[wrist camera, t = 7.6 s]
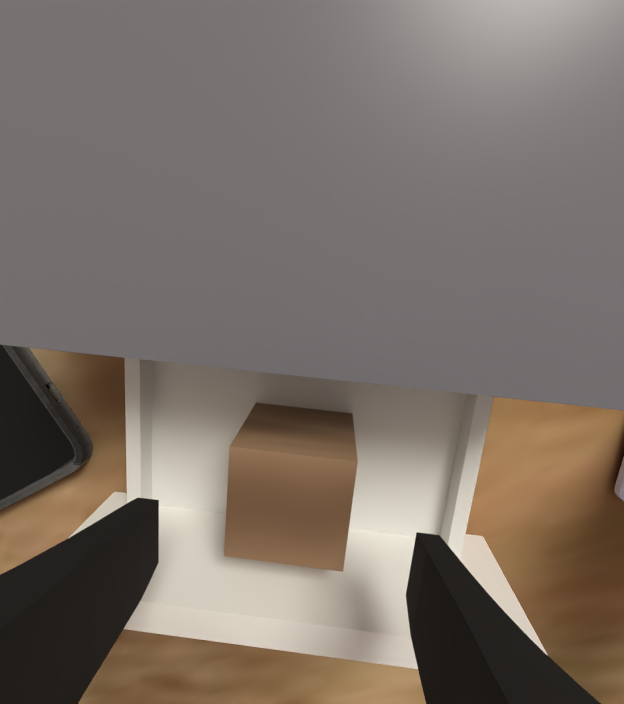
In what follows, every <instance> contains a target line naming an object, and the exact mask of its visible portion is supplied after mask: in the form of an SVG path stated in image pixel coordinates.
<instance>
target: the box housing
mask: <svg viewBox="0 0 624 704" xmlns="http://www.w3.org/2000/svg"><path fill="white" fill-rule="evenodd" d="M0 345H9V346H18V347H28V348H37V349H47V350H56V351H66V352H75V353H85V354H94V355H104V356H113V357H123V358H132V359H142V360H151V361H161V362H170V363H180V364H189V365H199V366H208V367H217V368H227V369H236V370H246V371H255V372H265V373H274V374H284V375H293V376H303V377H312V378H322V379H331V380H341V381H350V382H360V383H369V384H379V385H388V386H398V387H407V388H417V389H426V390H436V391H445V392H455V393H464V394H474V395H483V396H493V397H502V398H512V399H521V400H531V401H540V402H550V403H559V404H569V405H578V406H587V407H597V408H606V409H616V410H624V0H0Z"/></svg>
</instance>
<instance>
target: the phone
mask: <svg viewBox="0 0 624 704" xmlns="http://www.w3.org/2000/svg"><path fill="white" fill-rule="evenodd" d="M46 385H49V387H50V388H51V389H52V391H53V392H54V394H55V395H56V397H57V398H58V400H59V401H60V402H59V403H57V401H56V400H55V399H54V397H53V396H52V394H51V393H50V391H49V390H48V388H47V387H46ZM77 425H78V428H77V427H76V426H77ZM92 451H93V445H92V441H91V439H90V437H89V435H88V433H87V432H86V430H85V429H84V427H83V426H82V424H81V423H80V422H79V420H78V419H77V417H76V416H75V414H74V413H73V411H72V410H71V408H70V407H69V406H68V404H67V403H66V401H65V400H64V398H63V397H62V395H61V394H60V392H59V391H58V390H57V388H56V387H55V385H54V384H53V382H52V381H51V379H50V378H49V376H48V375H47V374H46V372H45V371H44V369H43V368H42V366H41V365H40V363H39V362H38V360H37V359H36V358H35V356H34V355H33V353H32V352H31V350H30V349H29V348H28V347H18V346H9V345H0V510H2V509H4V508H6V507H8V506H10V505H12V504H14V503H15V502H17V501H19V500H21V499H23V498H25V497H27V496H29V495H31V494H33V493H35V492H37V491H38V490H40V489H42V488H44V487H46V486H48V485H50V484H52V483H54V482H56V481H58V480H60V479H61V478H63V477H65V476H67V475H69V474H71V473H73V472H74V471H76V470H77V469H78V468H79V467H81V466H82V465H83V464H84V463H86V462H87V461H88V460H89V459H90V457H91V455H92Z"/></svg>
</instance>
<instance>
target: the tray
mask: <svg viewBox="0 0 624 704" xmlns="http://www.w3.org/2000/svg"><path fill="white" fill-rule="evenodd" d="M492 402H493V396H483V395H474V394H464V393H455V392H445V391H436V390H426V389H417V388H407V387H398V386H388V385H379V384H369V383H360V382H350V381H341V380H331V379H322V378H312V377H303V376H293V375H284V374H274V373H265V372H255V371H246V370H236V369H227V368H217V367H208V366H199V365H189V364H180V363H170V362H161V361H151V360H142V359H132V358H125V413H126V469H127V493H121V492H114V493H113V494H112V495H111V496H110V497H109V498H108V499H107V500H106V501H105V502H104V503H103V504H102V505H101V506H100V507H99V508H98V509H97V510H96V511H95V512H94V513H93V514H92V515H91V516H90V517H89V518H88V519H87V520H86V521H85V522H84V523H83V524H82V525H81V526H80V527H79V528H78V529H77V530H76V531H75V532H74V533H73V534H72V535H71V536H73V535H75V534H77V533H78V532H80V531H82V530H83V529H85V528H87V527H88V526H90V525H92V524H93V523H95V522H97V521H98V520H100V519H102V518H103V517H105V516H107V515H108V514H110V513H112V512H113V511H115V510H117V509H118V508H120V507H122V506H123V505H125V504H127V503H129V502H130V501H132V500H134V499H136V498H146V499H154V500H159V563H158V565H157V567H156V569H155V571H154V574H153V576H152V578H151V580H150V582H149V584H148V586H147V589H146V591H145V593H144V595H143V597H142V599H141V601H140V602H139V604H138V606H137V607H136V609H135V611H134V612H133V614H132V616H131V617H130V619H129V621H128V622H127V624H126V626H125V627H124V629H127V630H134V631H142V632H149V633H156V634H164V635H171V636H179V637H186V638H193V639H201V640H208V641H215V642H223V643H230V644H237V645H245V646H252V647H259V648H267V649H274V650H281V651H289V652H296V653H304V654H311V655H318V656H326V657H333V658H340V659H348V660H355V661H362V662H370V663H377V664H384V665H392V666H399V667H407V668H414V669H418V666H417V662H416V657H415V653H414V649H413V644H412V640H411V634H410V627H409V619H408V611H407V602H406V590H407V584H408V579H409V573H410V567H411V561H412V556H413V550H414V544H415V538H416V533H417V532H419V533H427V534H435V535H440V536H441V538H442V539H443V540H444V541H445V542H446V544H447V545H448V546H449V547H450V549H451V550H452V551H453V552H454V553H455V555H456V556H457V557H458V558H459V560H460V561H461V562H462V563H463V564H464V566H465V567H466V568H467V569H468V570H469V572H470V573H471V574H472V575H473V576H474V578H475V579H476V580H477V581H478V582H479V584H480V585H481V586H482V587H483V588H484V589H485V590H486V592H487V593H488V594H489V595H490V596H491V597H492V598H493V600H494V601H495V602H496V603H497V604H498V605H499V606H500V607H501V608H502V609H503V611H504V612H505V613H506V614H507V615H508V616H509V617H510V618H511V619H512V620H513V621H514V622H515V623H516V624H517V625H518V626H519V627H520V629H521V630H522V631H523V632H524V633H525V634H526V635H527V636H528V637H529V638H530V639H531V640H532V641H533V642H534V643H535V644H536V645H537V646H538V647H539V648H540V649H541V650H542V651H543V652H544V653H545V654H546V655H547V653H546V651H545V649H544V647H543V645H542V644H541V642H540V640H539V638H538V636H537V634H536V633H535V631H534V629H533V627H532V625H531V624H530V622H529V620H528V618H527V616H526V614H525V613H524V611H523V609H522V607H521V605H520V603H519V602H518V600H517V598H516V596H515V594H514V592H513V591H512V589H511V587H510V585H509V583H508V581H507V580H506V578H505V576H504V574H503V572H502V570H501V569H500V567H499V565H498V563H497V561H496V560H495V558H494V556H493V554H492V552H491V550H490V549H489V547H488V545H487V543H486V541H485V539H484V538H483V536H477V535H469V534H465V533H466V528H467V523H468V519H469V514H470V509H471V504H472V499H473V494H474V490H475V485H476V480H477V475H478V470H479V465H480V460H481V456H482V451H483V446H484V441H485V436H486V431H487V426H488V422H489V417H490V412H491V407H492ZM255 403H265V404H274V405H282V406H291V407H300V408H309V409H318V410H326V411H335V412H344V413H352V414H353V423H354V432H355V441H356V450H357V459H358V464H357V471H356V479H355V486H354V494H353V501H352V509H351V516H350V524H349V531H348V539H347V546H346V553H345V561H344V568H343V572H341V571H334V570H326V569H318V568H311V567H303V566H295V565H288V564H280V563H272V562H265V561H257V560H249V559H242V558H234V557H226V556H224V544H225V525H226V505H227V486H228V467H229V448H230V445H231V443H232V442H233V440H234V438H235V437H236V435H237V433H238V432H239V430H240V428H241V427H242V425H243V423H244V422H245V420H246V418H247V417H248V415H249V413H250V412H251V410H252V408H253V407H254V405H255ZM71 536H70V537H71ZM70 537H69V538H70ZM547 656H548V655H547Z"/></svg>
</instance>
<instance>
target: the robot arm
mask: <svg viewBox="0 0 624 704" xmlns="http://www.w3.org/2000/svg"><path fill="white" fill-rule="evenodd" d="M614 491H615V494H616V495H617V496H618V497H619V498H621V499H622V500H623V501H624V457H623V461H622V464H621V467H620V471H619V474H618V477H617V481H616V484H615V489H614ZM158 563H159V500H154V499H146V498H136V499H134V500H132V501H130V502H129V503H127V504H125V505H123V506H122V507H120V508H118V509H117V510H115V511H113V512H112V513H110V514H108V515H107V516H105V517H103V518H102V519H100V520H98V521H97V522H95V523H93V524H92V525H90V526H88V527H87V528H85V529H83V530H82V531H80V532H78V533H77V534H75V535H73V536H71V537H70V538H68V539H66V540H65V541H63V542H61V543H59V544H57V545H56V546H54V547H52V548H50V549H48V550H46V551H45V552H43V553H41V554H39V555H37V556H35V557H34V558H32V559H30V560H28V561H26V562H24V563H23V564H21V565H19V566H17V567H15V568H13V569H11V570H9V571H7V572H5V573H3V574H1V575H0V704H78V702H79V701H80V699H81V697H82V695H83V694H84V692H85V690H86V689H87V687H88V686H89V684H90V682H91V681H92V679H93V677H94V676H95V674H96V673H97V671H98V669H99V668H100V666H101V664H102V663H103V661H104V660H105V658H106V656H107V655H108V653H109V652H110V650H111V648H112V647H113V645H114V643H115V642H116V640H117V639H118V637H119V635H120V634H121V632H122V631H123V629H124V627H125V626H126V624H127V622H128V621H129V619H130V617H131V616H132V614H133V612H134V611H135V609H136V607H137V606H138V604H139V602H140V601H141V599H142V597H143V595H144V593H145V591H146V589H147V586H148V584H149V582H150V580H151V578H152V576H153V574H154V571H155V569H156V567H157V565H158ZM406 602H407V611H408V619H409V627H410V634H411V640H412V644H413V649H414V653H415V657H416V662H417V666H418V670H419V675H420V679H421V683H422V687H423V692H424V696H425V700H426V704H601V703H599V702H598V701H597V700H596V699H595V698H594V697H592V696H591V695H590V694H589V693H588V692H587V691H586V690H584V689H583V688H582V687H581V686H580V685H579V684H578V683H576V682H575V681H574V680H573V679H572V678H571V677H570V676H569V675H568V674H567V673H566V672H565V671H564V670H562V669H561V668H560V667H559V666H558V665H557V664H556V663H555V662H554V661H553V660H552V659H551V658H550V657H548V656H547V655H546V654H545V653H544V652H543V651H542V650H541V649H540V648H539V647H538V646H537V645H536V644H535V643H534V642H533V641H532V640H531V639H530V638H529V637H528V636H527V635H526V634H525V633H524V632H523V631H522V630H521V629H520V627H519V626H518V625H517V624H516V623H515V622H514V621H513V620H512V619H511V618H510V617H509V616H508V615H507V614H506V613H505V612H504V611H503V609H502V608H501V607H500V606H499V605H498V604H497V603H496V602H495V601H494V600H493V598H492V597H491V596H490V595H489V594H488V593H487V592H486V590H485V589H484V588H483V587H482V586H481V585H480V584H479V582H478V581H477V580H476V579H475V578H474V576H473V575H472V574H471V573H470V572H469V570H468V569H467V568H466V567H465V566H464V564H463V563H462V562H461V561H460V560H459V558H458V557H457V556H456V555H455V553H454V552H453V551H452V550H451V549H450V547H449V546H448V545H447V544H446V542H445V541H444V540H443V539H442V538H441V536H440V535H435V534H427V533H419V532H417V533H416V538H415V544H414V550H413V556H412V561H411V567H410V573H409V579H408V584H407V590H406Z"/></svg>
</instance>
